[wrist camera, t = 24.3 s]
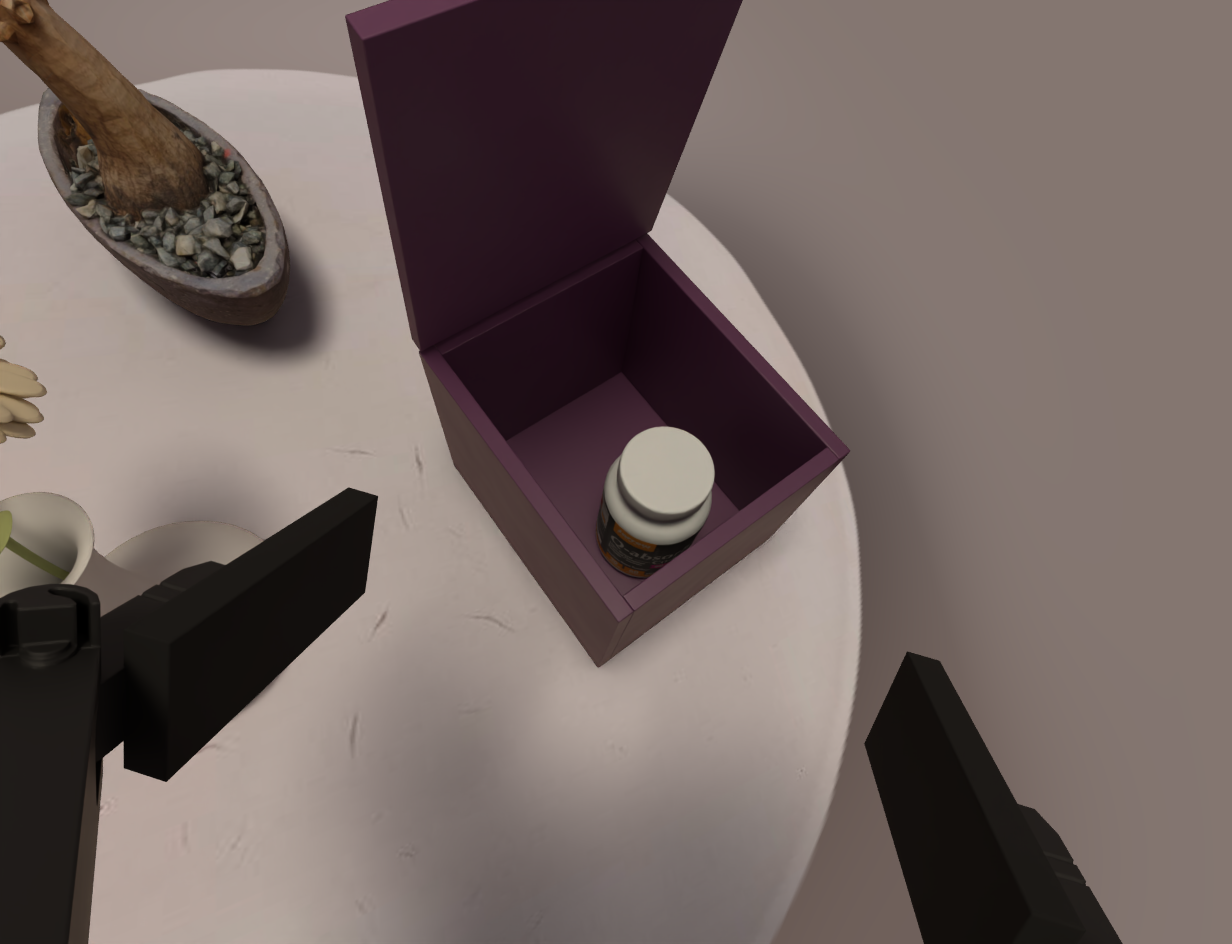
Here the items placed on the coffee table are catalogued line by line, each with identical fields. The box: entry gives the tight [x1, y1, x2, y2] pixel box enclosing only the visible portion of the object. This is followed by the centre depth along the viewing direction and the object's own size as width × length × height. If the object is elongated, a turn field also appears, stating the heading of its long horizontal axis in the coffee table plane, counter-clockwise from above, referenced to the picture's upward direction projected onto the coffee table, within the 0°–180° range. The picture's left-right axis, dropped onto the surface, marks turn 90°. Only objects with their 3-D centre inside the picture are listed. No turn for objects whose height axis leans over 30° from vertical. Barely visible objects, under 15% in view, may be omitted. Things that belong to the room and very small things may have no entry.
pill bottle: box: [596, 427, 715, 578], centre depth 37 cm, size 6×6×10 cm
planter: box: [0, 0, 290, 325], centre depth 38 cm, size 15×17×20 cm
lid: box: [345, 0, 743, 351], centre depth 26 cm, size 16×14×6 cm
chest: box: [419, 233, 850, 667], centre depth 37 cm, size 16×14×13 cm
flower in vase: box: [0, 336, 263, 616], centre depth 27 cm, size 13×11×25 cm
